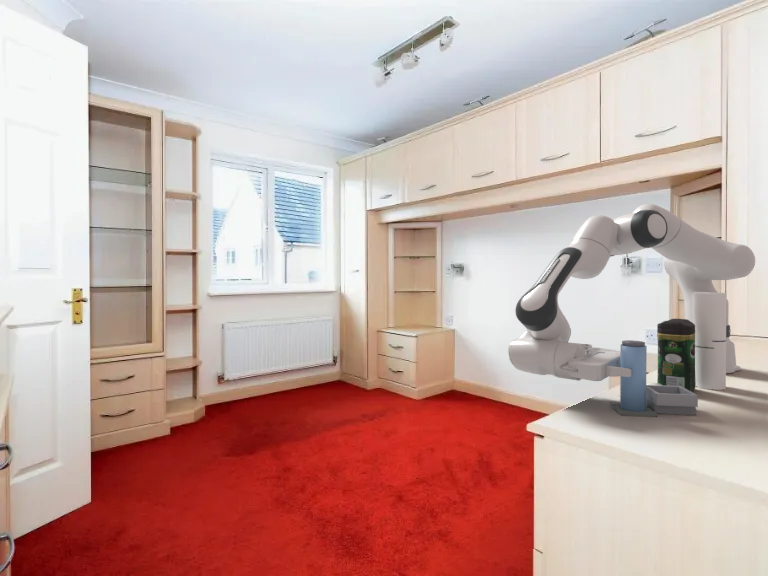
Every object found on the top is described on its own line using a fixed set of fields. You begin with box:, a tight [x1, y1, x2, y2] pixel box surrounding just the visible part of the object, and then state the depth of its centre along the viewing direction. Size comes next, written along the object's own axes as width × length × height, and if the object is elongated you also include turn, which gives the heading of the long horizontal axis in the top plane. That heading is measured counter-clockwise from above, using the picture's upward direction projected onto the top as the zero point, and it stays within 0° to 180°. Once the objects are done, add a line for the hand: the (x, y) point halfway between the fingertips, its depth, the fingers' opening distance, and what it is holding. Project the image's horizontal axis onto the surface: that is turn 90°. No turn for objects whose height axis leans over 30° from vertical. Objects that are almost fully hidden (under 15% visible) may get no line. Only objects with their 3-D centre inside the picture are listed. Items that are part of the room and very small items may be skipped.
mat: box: [610, 402, 658, 417], centre depth 97 cm, size 7×7×1 cm
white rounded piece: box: [646, 381, 661, 385], centre depth 106 cm, size 4×4×3 cm
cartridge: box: [619, 339, 648, 412], centre depth 97 cm, size 5×5×15 cm
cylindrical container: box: [693, 292, 727, 391], centre depth 116 cm, size 7×7×25 cm
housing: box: [646, 385, 699, 416], centre depth 101 cm, size 16×8×4 cm, turn 169°
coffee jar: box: [656, 318, 697, 392], centre depth 114 cm, size 10×8×19 cm
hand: (637, 369), depth 96 cm, fingers open, 8 cm apart
